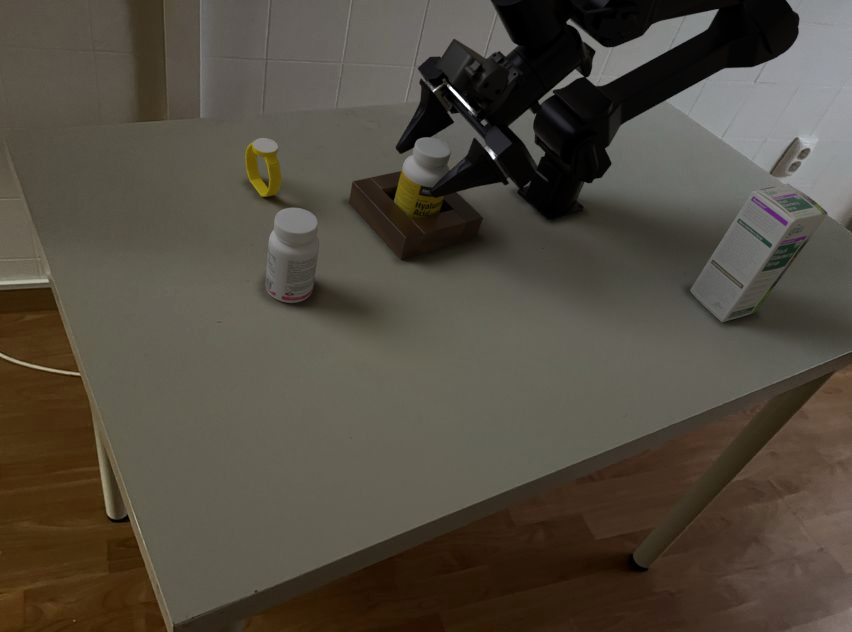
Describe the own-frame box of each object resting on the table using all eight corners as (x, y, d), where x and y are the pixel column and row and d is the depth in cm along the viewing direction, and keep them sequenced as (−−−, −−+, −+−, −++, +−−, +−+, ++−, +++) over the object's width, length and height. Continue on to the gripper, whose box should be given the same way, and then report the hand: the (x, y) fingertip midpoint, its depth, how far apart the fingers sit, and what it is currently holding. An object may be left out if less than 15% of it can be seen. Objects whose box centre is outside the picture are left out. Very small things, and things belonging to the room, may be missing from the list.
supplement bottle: (407, 238, 81) (427, 164, 74) (381, 211, 83) (398, 136, 76) (444, 229, 83) (467, 156, 76) (418, 202, 86) (438, 130, 79)
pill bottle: (319, 282, 73) (330, 215, 67) (301, 310, 69) (310, 243, 63) (277, 266, 73) (284, 198, 67) (256, 293, 70) (261, 224, 64)
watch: (238, 177, 83) (240, 131, 78) (259, 173, 84) (262, 127, 80) (262, 207, 80) (266, 161, 75) (284, 202, 81) (289, 156, 77)
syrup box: (722, 324, 81) (798, 221, 70) (686, 290, 84) (754, 187, 74) (754, 314, 83) (832, 213, 73) (718, 281, 86) (788, 180, 76)
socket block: (422, 185, 89) (428, 165, 87) (476, 238, 83) (483, 217, 81) (348, 202, 83) (352, 181, 81) (400, 260, 78) (406, 238, 76)
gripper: (454, -22, 73) (341, 82, 77) (553, 65, 63) (417, 182, 66) (494, 51, 82) (391, 142, 86) (587, 138, 72) (466, 238, 75)
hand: (414, 172), depth 78 cm, fingers open, 8 cm apart
